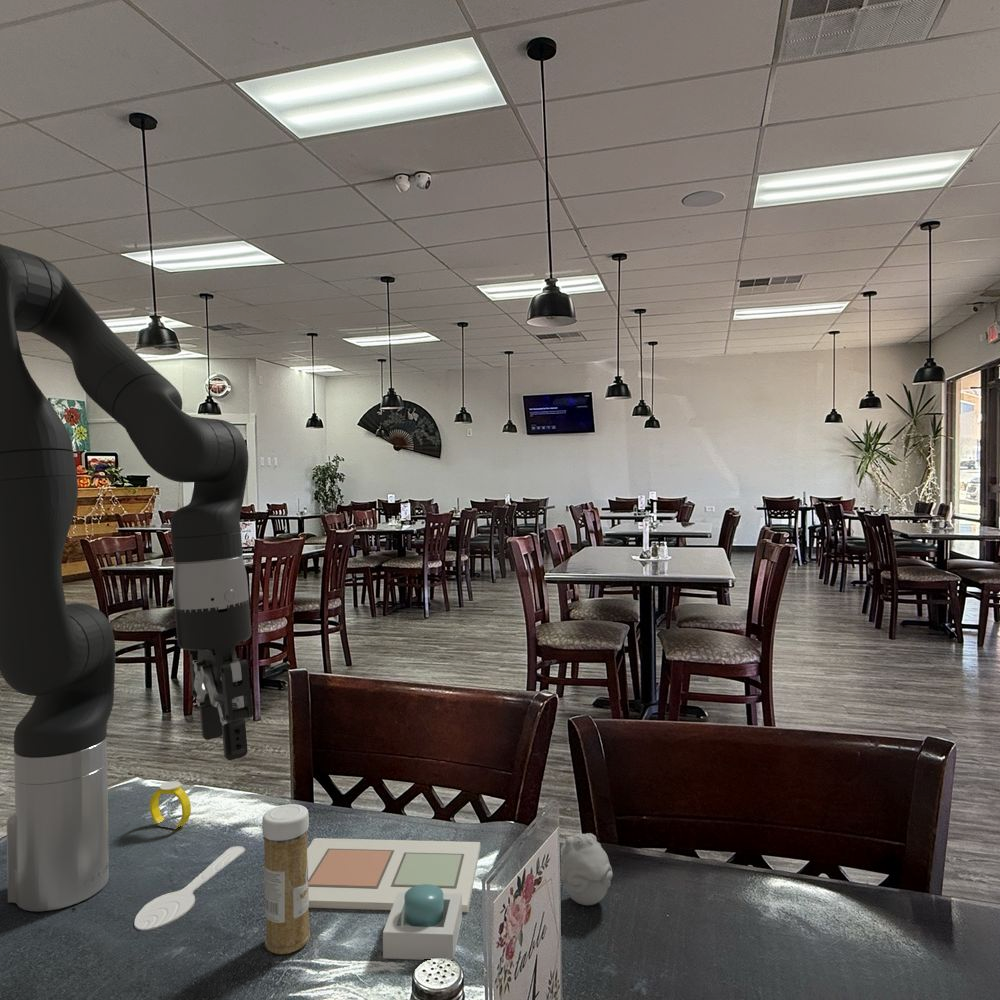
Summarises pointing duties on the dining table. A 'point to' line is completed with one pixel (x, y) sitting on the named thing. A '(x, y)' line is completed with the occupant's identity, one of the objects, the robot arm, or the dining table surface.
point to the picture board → (386, 870)
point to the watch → (177, 791)
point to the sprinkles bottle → (286, 878)
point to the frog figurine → (585, 869)
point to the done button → (423, 905)
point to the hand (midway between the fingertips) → (224, 747)
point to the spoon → (180, 896)
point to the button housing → (422, 932)
